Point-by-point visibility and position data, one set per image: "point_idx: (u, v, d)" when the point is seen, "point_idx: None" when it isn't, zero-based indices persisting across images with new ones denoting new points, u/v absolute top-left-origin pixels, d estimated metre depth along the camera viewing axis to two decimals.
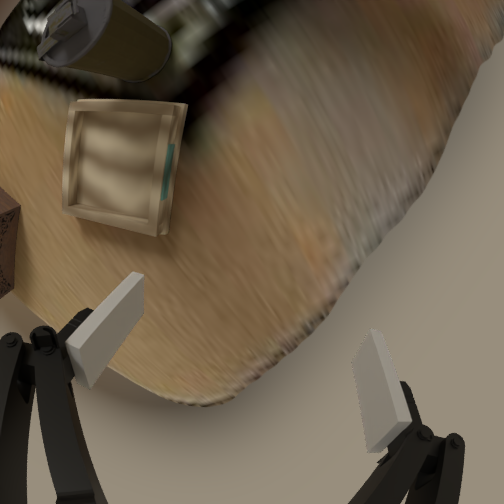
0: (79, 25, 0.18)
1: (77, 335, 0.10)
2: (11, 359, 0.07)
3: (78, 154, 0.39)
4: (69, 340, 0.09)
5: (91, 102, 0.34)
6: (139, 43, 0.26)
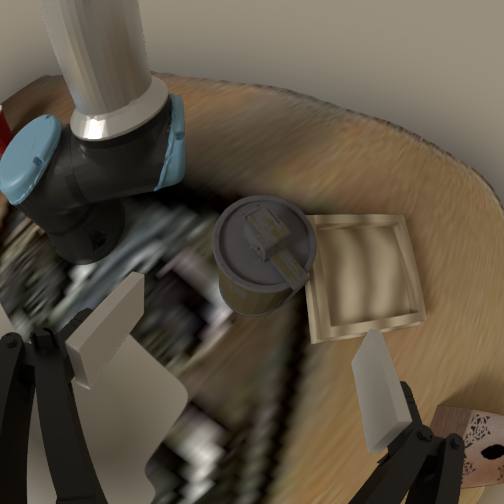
0: None
1: (77, 335, 0.10)
2: (11, 359, 0.07)
3: None
4: (69, 340, 0.09)
5: (319, 305, 0.40)
6: None
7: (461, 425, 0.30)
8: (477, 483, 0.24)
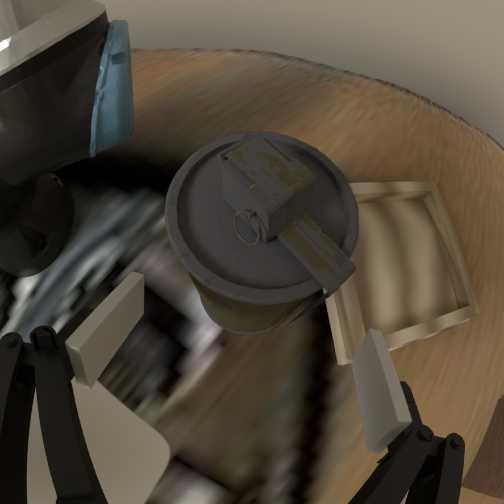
0: None
1: (77, 335, 0.10)
2: (11, 359, 0.07)
3: (412, 325, 0.29)
4: (69, 340, 0.09)
5: (348, 310, 0.27)
6: None
7: None
8: None
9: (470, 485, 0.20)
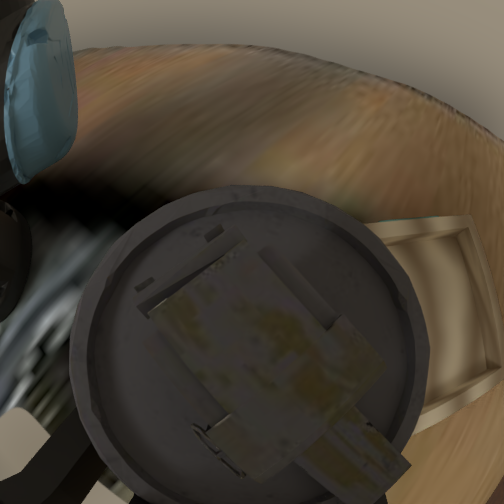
0: None
1: None
2: None
3: (436, 398, 0.20)
4: None
5: None
6: None
7: None
8: None
9: None
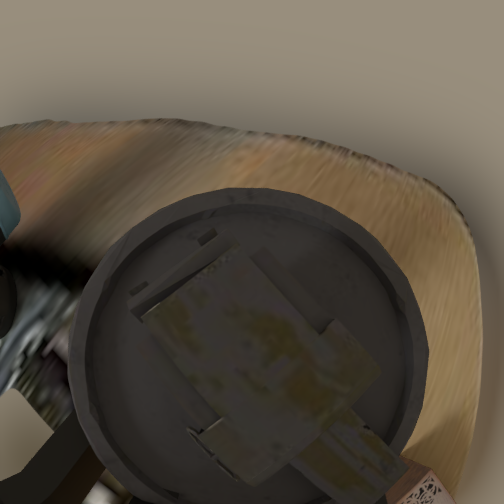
0: None
1: None
2: None
3: None
4: None
5: None
6: None
7: (412, 480, 0.25)
8: None
9: None
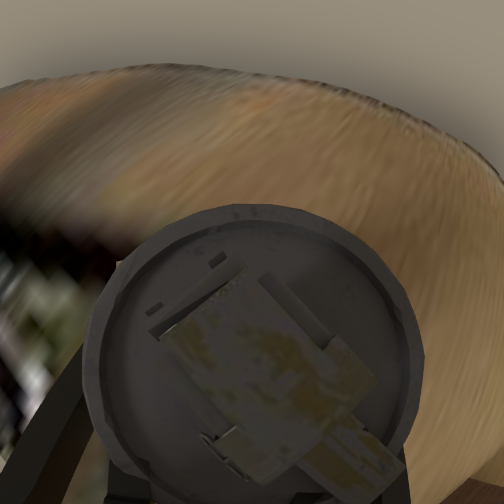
0: None
1: None
2: None
3: None
4: None
5: None
6: None
7: None
8: None
9: None
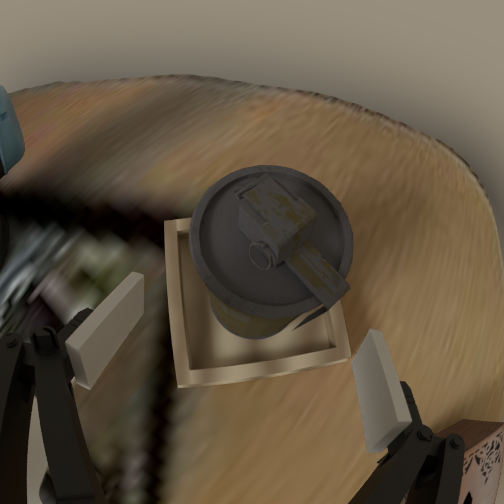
0: None
1: (77, 335, 0.10)
2: (11, 359, 0.07)
3: (258, 361, 0.31)
4: (69, 340, 0.09)
5: (173, 340, 0.29)
6: None
7: (487, 431, 0.21)
8: None
9: None
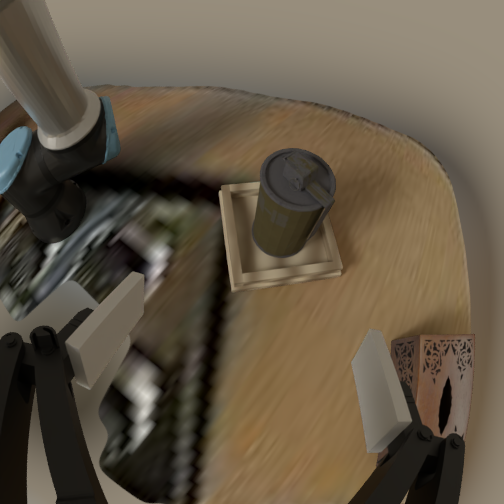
0: None
1: (77, 335, 0.10)
2: (11, 359, 0.07)
3: None
4: (69, 340, 0.09)
5: (231, 255, 0.49)
6: None
7: None
8: (419, 403, 0.35)
9: None
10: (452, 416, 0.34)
